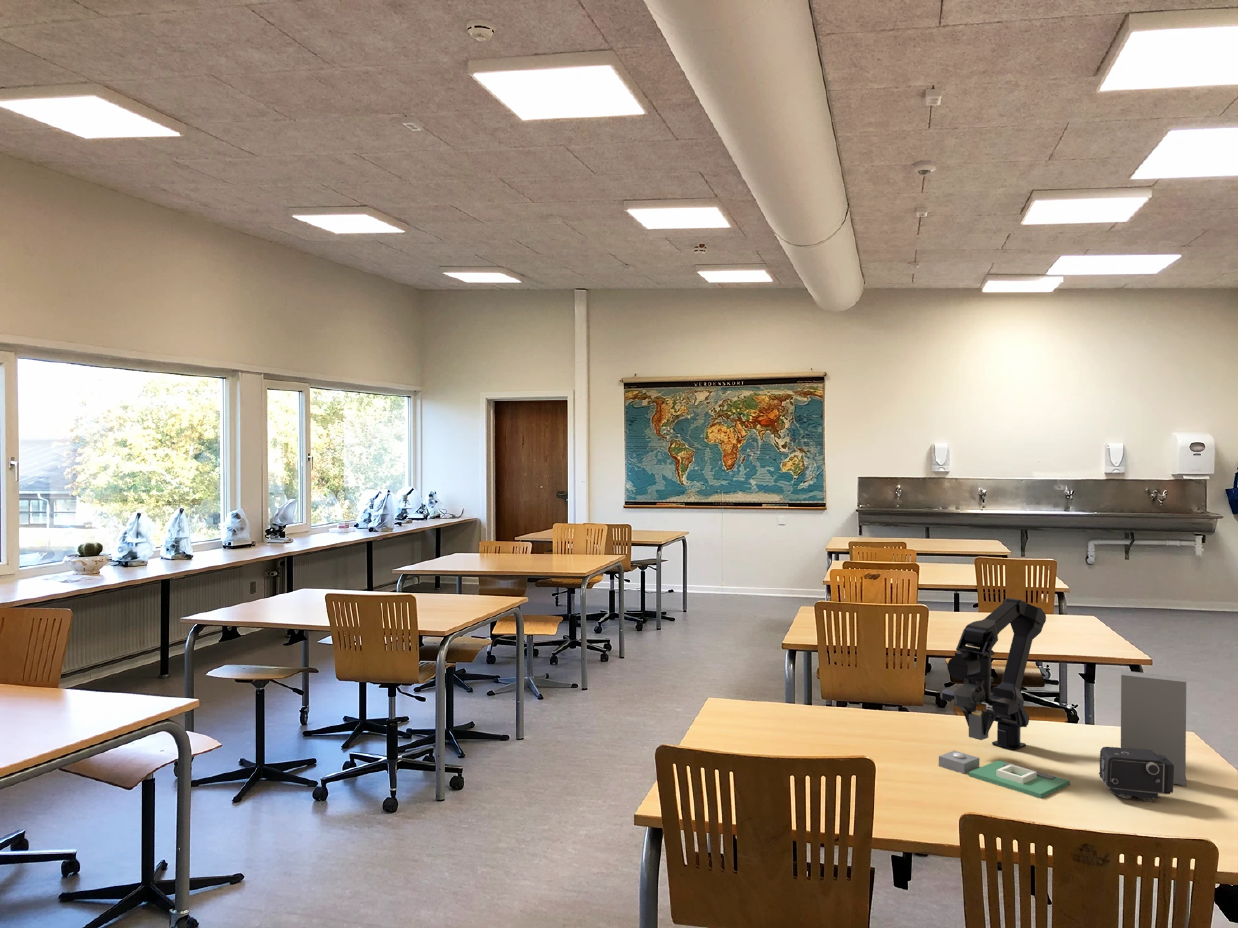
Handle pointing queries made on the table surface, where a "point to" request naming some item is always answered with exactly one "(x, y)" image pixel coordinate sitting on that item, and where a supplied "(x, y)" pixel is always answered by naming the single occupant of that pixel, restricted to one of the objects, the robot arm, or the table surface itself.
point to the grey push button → (959, 762)
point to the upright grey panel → (1155, 717)
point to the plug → (976, 725)
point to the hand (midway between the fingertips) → (978, 732)
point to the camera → (1136, 772)
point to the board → (1019, 778)
